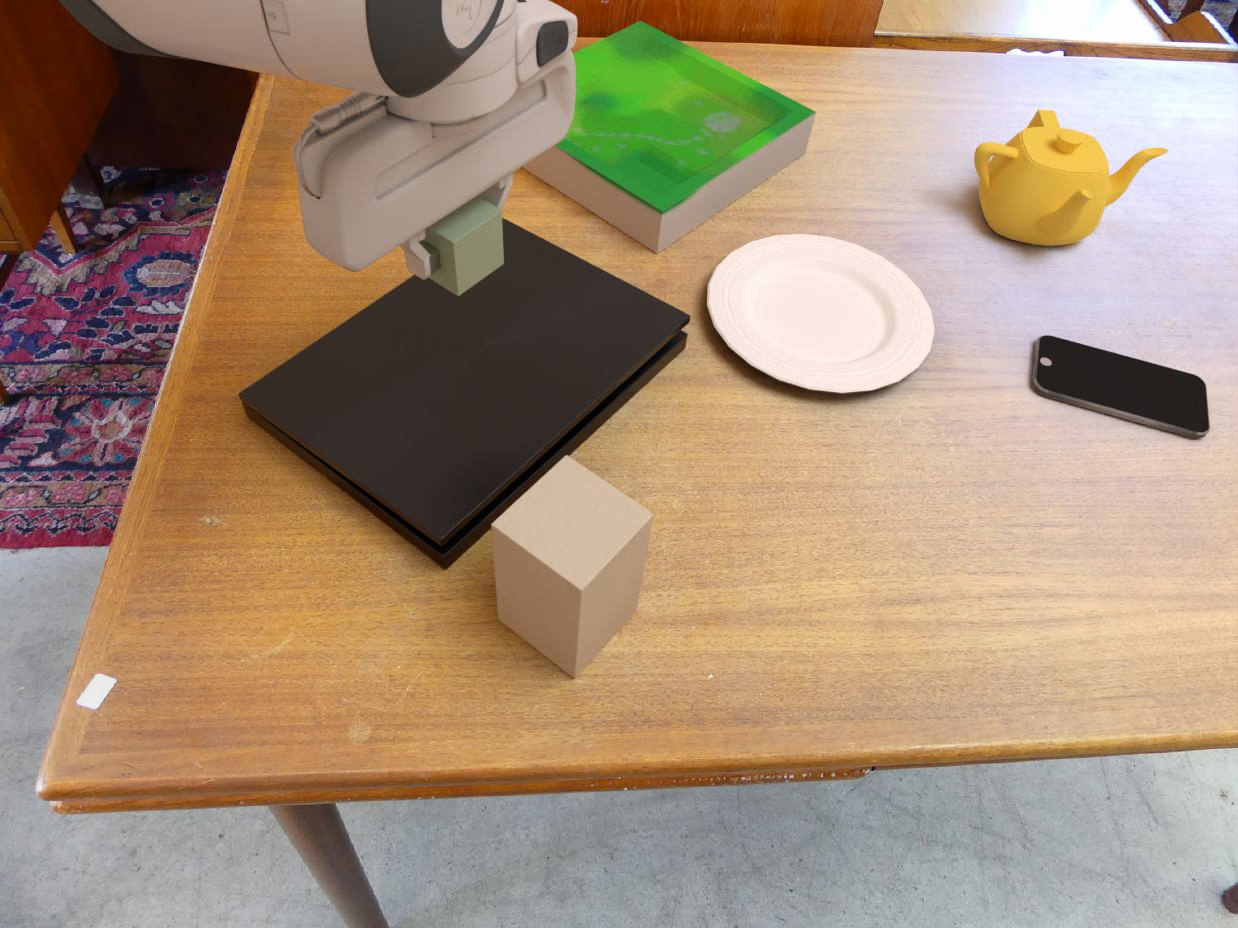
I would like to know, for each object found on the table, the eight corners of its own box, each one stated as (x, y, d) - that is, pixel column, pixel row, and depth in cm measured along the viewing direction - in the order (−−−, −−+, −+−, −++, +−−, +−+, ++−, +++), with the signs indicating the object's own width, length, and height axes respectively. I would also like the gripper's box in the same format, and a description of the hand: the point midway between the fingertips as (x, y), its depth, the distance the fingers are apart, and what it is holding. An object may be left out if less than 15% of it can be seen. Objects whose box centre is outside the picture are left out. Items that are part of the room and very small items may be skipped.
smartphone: (1038, 330, 85) (1206, 376, 83) (1034, 336, 85) (1202, 381, 83) (1033, 387, 80) (1211, 437, 78) (1029, 393, 81) (1206, 443, 79)
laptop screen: (689, 323, 79) (690, 315, 78) (441, 547, 64) (440, 540, 63) (501, 224, 87) (500, 216, 87) (240, 401, 72) (237, 393, 71)
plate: (659, 289, 86) (662, 274, 84) (827, 224, 94) (832, 209, 92) (800, 440, 76) (805, 425, 74) (975, 353, 84) (983, 338, 82)
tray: (637, 62, 110) (640, 21, 106) (805, 153, 101) (816, 112, 97) (482, 141, 98) (479, 98, 94) (657, 253, 89) (662, 211, 85)
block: (458, 296, 61) (453, 242, 57) (410, 266, 62) (402, 212, 59) (504, 264, 63) (502, 210, 60) (456, 235, 65) (452, 181, 61)
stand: (574, 679, 62) (581, 590, 52) (497, 619, 64) (490, 523, 54) (637, 608, 65) (654, 513, 56) (562, 554, 67) (566, 454, 58)
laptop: (685, 348, 81) (688, 332, 80) (445, 570, 66) (443, 556, 64) (501, 239, 89) (501, 223, 87) (246, 416, 73) (240, 400, 72)
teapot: (1047, 279, 91) (1095, 195, 83) (940, 209, 97) (976, 124, 89) (1120, 228, 97) (1172, 145, 89) (1015, 165, 102) (1055, 82, 95)
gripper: (331, 154, 44) (372, 354, 55) (596, 9, 55) (587, 201, 66) (246, 103, 46) (302, 306, 57) (517, -27, 57) (521, 165, 68)
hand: (456, 249), depth 62 cm, fingers closed on block, 4 cm apart
